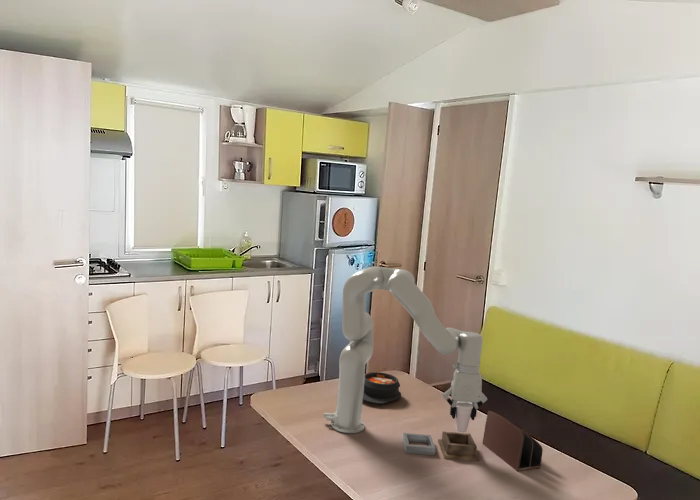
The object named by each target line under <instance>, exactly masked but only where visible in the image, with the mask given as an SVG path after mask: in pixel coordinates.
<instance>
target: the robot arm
mask: <svg viewBox="0 0 700 500" xmlns="http://www.w3.org/2000/svg"><path fill="white" fill-rule="evenodd" d="M415 281H416V280H415V277H414V275H413V273H412V272H411V271H409V270H407V269H403V268H402V269H401V268H393V267H383V266H374V265H373V266H369V267H367V268H364V269H362V270H359V271H357V272H355V273H353V274H352V275H350V276H349V278H347V279H346V281H345V282H344V286H343V288H342V318H341V319H342V325H341V326H342V328H341V329H342V334H343V336H344V338H346V340H348V341H349V343H348V344H346V346H345V347H344V348H343V349H342V351H341V352H340V356H339V361H338V364H339V367H338V368H339V369H338V370H339V374H338V375H339V377H338V389H337V399H336V400H337V401H336V408H335V411H334V412H332V413H331V412H323V419H326V421H330V426H331V428H332V429H334V430H335V431H337V432H340V433H343V434H344V433H345V434H357V433H360V432H362V431H364V429H365V422H364V421H363V420H362V414H363V413H362V412H363V403H364V400H363V393H364V383H365V374H366V364H367V363H368V362H369V361H370V360H371V358H372V356H373V353H374V321H373V318H372V316H371V315H370V313H368V311H366V309H367V304H366V303H367V302H366V295H367V294H369V293H371V292H374V291H376V290H385V291H389V293H391V294H392V296H393V297H394V298H395V299H396V300H397V302H399V303H400V305H401V306H402V308H404V309H405V311H406V312H407V313H408V314H409V315H410V316H411V318H412V319H413V322H414V323H415V325H416V326H417V327H418V329H419V330H420V332H421V334H422V335H423V336H424V338H425V339H426V340H427V342H428V343H430V345H431V346H432V347H433V349H435V350H436V351H437V352H438V353H440V354H442V355H443V356H451V355H453V354H455V352H457V350H458V355H457V361H456V363H452V367H453V368H454V369H455V370H454V372H453V375H452V379H451V384H450V387H449V388H447V390H446V391H445V392H444V393H442V397H443V398H444V400H446V402H447V403H448V404H449V405H450V409H449V416H450V417H452V419H456V406H455V405H456V403H457V402H458V401H460V402H471V403H472V404H473V409H472V411H471V415H470V420H472V421H475V418H477V410H478V409H479V408H480V407H481V406H483V404H484V403H485V402H487V401H488V397H487V396H486V395H485V394H484V393H483V392H482V387H483V386H482V385H483V382H482V381H483V378H482V373H481V372H480V366H481V365H480V364H481V359H482V358H481V357H482V350H483V349H482V348H483V341H484V340H483V336H482V335H481V334H480V333H478V332H474V331H464V330H460V329H457V328H454V327H445V326H444V325H443V324H442V322H441V320H440V319H439V318H438V316H437V314H436V312H435V309H434V306H433V304H432V302H431V300H430V299H429V298H428V297H427V296H426V294H424V292H423V291H422V290H421V289H420V288H419V286H417V284H416V283H415ZM449 396H450V397H451V398H450V397H449Z"/></svg>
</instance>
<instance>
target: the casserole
mask: <svg viewBox="0 0 700 500" xmlns="http://www.w3.org/2000/svg"><path fill="white" fill-rule="evenodd" d="M399 388H401V383H400V382H399V378H398V377H396V376H395V375H392V374H389V373H385V372H377V371H375V372H368V373H365V383H364V393H363V401H365V402H367V403H372V404H377V405H378V404H379V405H384V404H387V403H389V402H393V401H396V400H398V399H400V398H401V396H402V395H401V394H402V393H401V392H400V389H399Z"/></svg>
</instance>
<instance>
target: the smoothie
mask: <svg viewBox="0 0 700 500" xmlns="http://www.w3.org/2000/svg"><path fill="white" fill-rule="evenodd" d="M455 407H456V414H455V430H456V431H457V432H458V433H466V432H467V431H468V428H469V427H468V426H469V423H470V420H471V417H470V415H471V411H472V409H473V403H472V402H460V401H458V402H457V403H456V405H455Z"/></svg>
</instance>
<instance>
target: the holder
mask: <svg viewBox="0 0 700 500" xmlns="http://www.w3.org/2000/svg"><path fill="white" fill-rule="evenodd" d="M410 442H413V443H425V444H427V445H418V444H416V445H415V444H410ZM402 443H403V447H404V452H405V453H406V454H415V455H416V454H417V455H426V456H435V455H436V446H435V442H434V440H433V437H432V435H431V434H423V433H422V434H421V433H409V432H403V434H402Z"/></svg>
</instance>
